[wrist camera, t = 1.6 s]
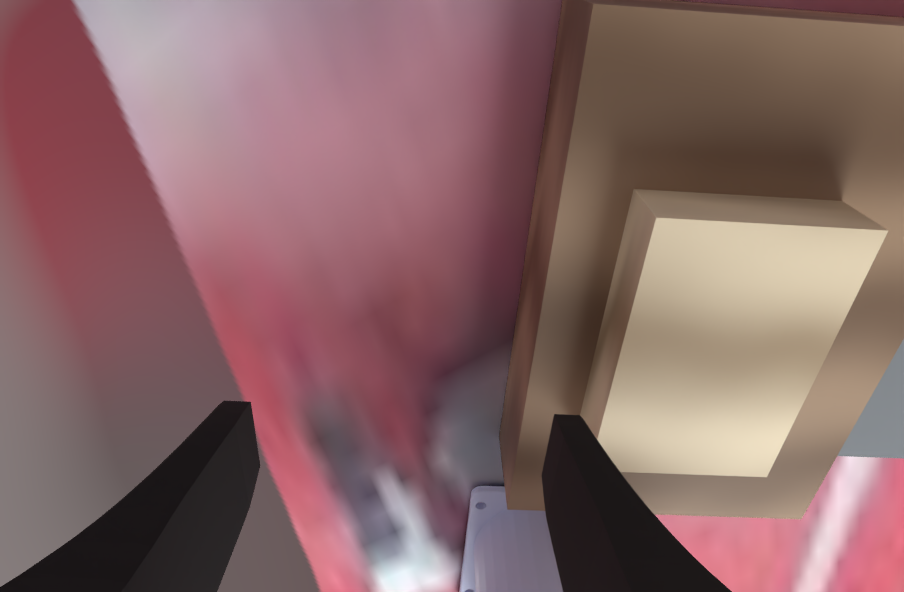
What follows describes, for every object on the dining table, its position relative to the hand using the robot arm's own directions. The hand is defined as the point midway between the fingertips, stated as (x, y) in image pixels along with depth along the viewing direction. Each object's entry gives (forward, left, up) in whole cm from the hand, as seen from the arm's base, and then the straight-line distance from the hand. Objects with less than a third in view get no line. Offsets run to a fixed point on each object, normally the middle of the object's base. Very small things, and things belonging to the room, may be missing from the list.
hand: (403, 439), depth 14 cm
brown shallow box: (0, -10, -9) cm, 14 cm away
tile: (0, -9, -5) cm, 10 cm away
